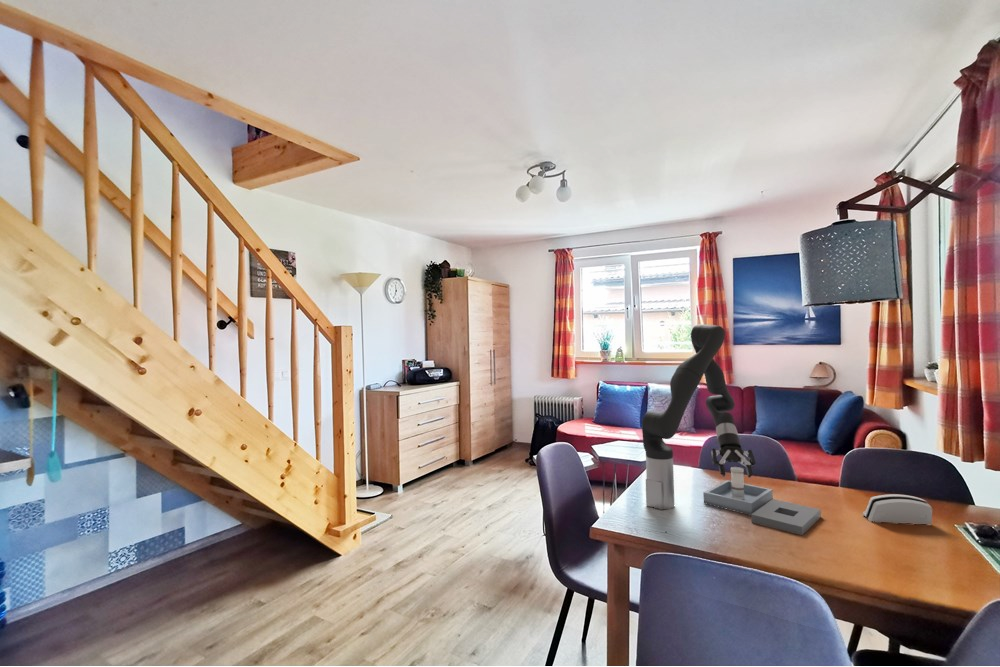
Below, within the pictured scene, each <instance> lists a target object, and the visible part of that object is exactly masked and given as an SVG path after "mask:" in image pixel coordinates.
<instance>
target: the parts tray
mask: <svg viewBox="0 0 1000 667" xmlns="http://www.w3.org/2000/svg"><path fill="white" fill-rule="evenodd" d="M773 493H774V492H773V488H766V487H763V486H757V485H753V484H748V483H744V496H745V500H740V499H736V498H732V497H731V495H732V488H731V480H728V479H726V480H724V481H722V482H720V483H719V484H717V485H715V486H713V487H710V488H709V489H707V490H705V491H703V493H702V494H703V504H704V503H707V504H706V505H708V504H711V505H710V506H712V505H715V506H714V507H716V506H719V507H718V508H720V507H723V508H722V509H724V508H727V509H726V510H728V509H731V510H730V511H732V510H735V511H734V512H736V511H738V512H737V513H740V512H742V513H741V514H744V513H745V515H748V516H751V514H752V513H754V512H755V511H757V510H758V509H759V508H761V507H762V506H764V505H765V504H767V503H768V502H769V501H771V500H772V499H774V497H773V496H774V495H773Z"/></svg>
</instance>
